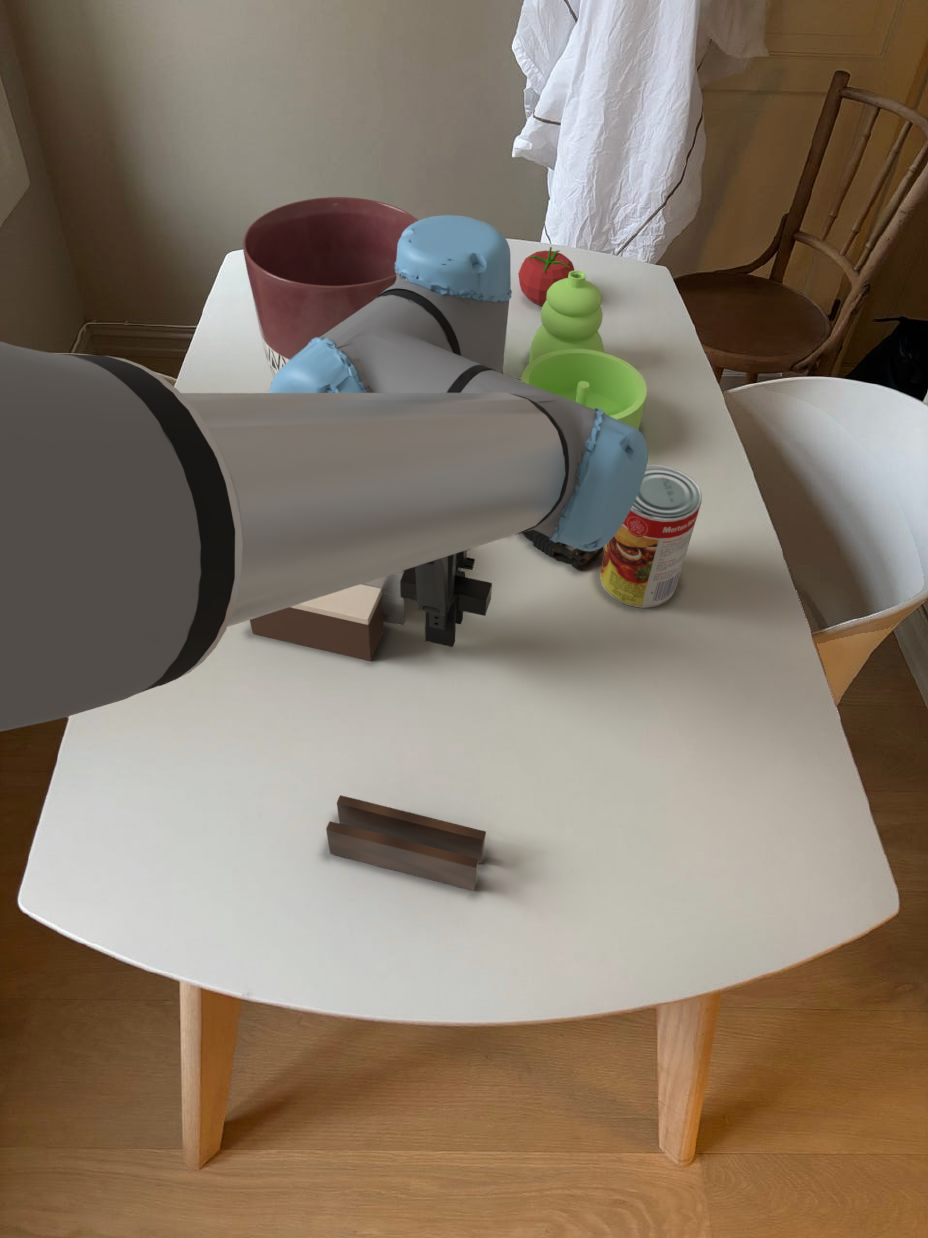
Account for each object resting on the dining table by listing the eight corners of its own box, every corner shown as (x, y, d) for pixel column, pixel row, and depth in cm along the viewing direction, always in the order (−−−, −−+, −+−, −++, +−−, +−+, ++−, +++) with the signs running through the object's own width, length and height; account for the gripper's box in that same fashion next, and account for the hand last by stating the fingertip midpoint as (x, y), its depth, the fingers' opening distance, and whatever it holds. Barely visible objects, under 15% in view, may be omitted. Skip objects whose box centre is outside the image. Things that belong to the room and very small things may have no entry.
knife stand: (483, 855, 76) (486, 831, 73) (474, 891, 74) (476, 868, 71) (342, 819, 77) (339, 794, 74) (329, 854, 75) (325, 829, 72)
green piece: (646, 465, 109) (668, 372, 100) (522, 465, 108) (532, 371, 99) (615, 345, 125) (630, 255, 116) (506, 344, 125) (513, 254, 115)
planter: (302, 477, 106) (280, 304, 90) (246, 384, 117) (217, 216, 101) (456, 431, 112) (461, 262, 96) (388, 348, 123) (383, 183, 107)
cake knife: (488, 633, 90) (492, 582, 84) (482, 650, 88) (486, 600, 83) (253, 580, 93) (243, 528, 88) (244, 596, 92) (233, 544, 86)
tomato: (582, 296, 133) (589, 245, 128) (556, 321, 129) (562, 268, 123) (533, 280, 136) (538, 228, 130) (506, 303, 132) (510, 251, 126)
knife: (412, 458, 109) (412, 449, 107) (454, 436, 111) (454, 427, 110) (566, 580, 96) (568, 571, 95) (609, 552, 99) (611, 543, 98)
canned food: (631, 542, 100) (652, 453, 91) (691, 580, 97) (718, 492, 88) (584, 578, 97) (600, 489, 88) (644, 620, 93) (668, 532, 84)
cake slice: (370, 661, 89) (368, 619, 84) (252, 633, 90) (243, 591, 86) (384, 630, 91) (382, 588, 87) (268, 604, 93) (260, 561, 88)
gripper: (473, 503, 66) (462, 701, 84) (519, 381, 76) (500, 581, 93) (371, 482, 67) (381, 683, 85) (429, 365, 77) (428, 566, 95)
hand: (444, 629), depth 89 cm, fingers closed on cake knife, 2 cm apart
